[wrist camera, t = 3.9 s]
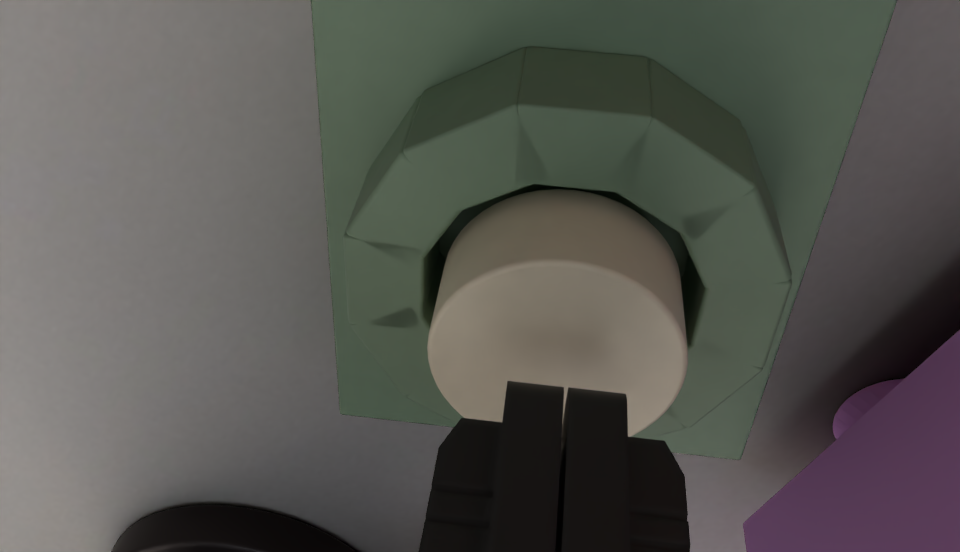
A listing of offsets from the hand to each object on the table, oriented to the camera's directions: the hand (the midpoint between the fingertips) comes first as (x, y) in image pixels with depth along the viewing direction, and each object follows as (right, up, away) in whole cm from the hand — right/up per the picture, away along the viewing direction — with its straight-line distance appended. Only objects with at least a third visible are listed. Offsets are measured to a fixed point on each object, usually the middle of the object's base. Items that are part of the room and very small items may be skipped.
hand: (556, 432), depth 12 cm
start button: (0, +2, +2) cm, 3 cm away
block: (+1, +4, +5) cm, 6 cm away
